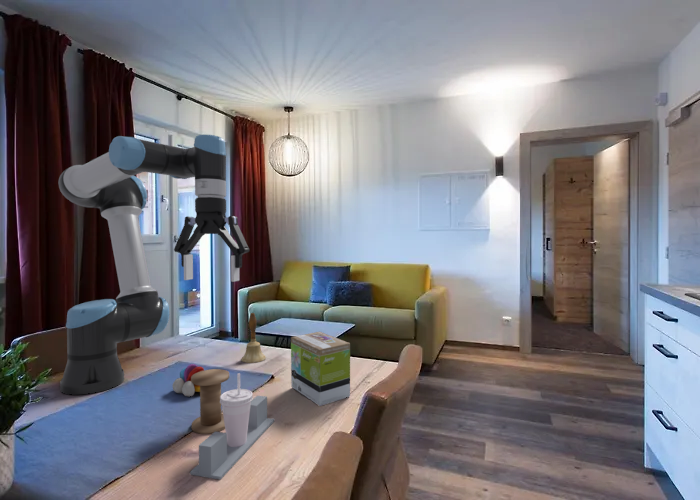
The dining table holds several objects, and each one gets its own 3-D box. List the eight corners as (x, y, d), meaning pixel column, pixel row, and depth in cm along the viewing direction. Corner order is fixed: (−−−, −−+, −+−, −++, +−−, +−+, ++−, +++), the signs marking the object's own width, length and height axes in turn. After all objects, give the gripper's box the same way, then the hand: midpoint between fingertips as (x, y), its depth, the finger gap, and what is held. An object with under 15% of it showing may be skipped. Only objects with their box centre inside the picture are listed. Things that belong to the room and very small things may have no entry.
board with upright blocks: (190, 474, 69) (189, 444, 68) (250, 418, 90) (250, 394, 90) (220, 479, 67) (220, 448, 67) (274, 421, 89) (274, 397, 88)
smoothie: (244, 452, 75) (243, 380, 74) (213, 448, 76) (213, 378, 76) (258, 435, 81) (257, 369, 81) (230, 432, 82) (229, 367, 82)
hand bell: (244, 364, 128) (244, 316, 127) (238, 357, 135) (238, 312, 134) (269, 360, 132) (269, 313, 131) (261, 354, 139) (261, 309, 139)
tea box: (289, 388, 108) (289, 335, 107) (320, 380, 114) (320, 330, 113) (319, 407, 96) (319, 348, 95) (351, 397, 102) (351, 341, 101)
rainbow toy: (190, 400, 100) (190, 372, 100) (168, 392, 105) (167, 366, 105) (217, 389, 107) (217, 363, 107) (195, 382, 112) (195, 357, 112)
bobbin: (183, 431, 84) (183, 380, 83) (205, 414, 92) (205, 367, 91) (216, 435, 82) (216, 383, 82) (236, 418, 90) (236, 370, 89)
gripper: (158, 197, 99) (159, 280, 100) (247, 194, 93) (248, 283, 94) (178, 199, 106) (179, 277, 107) (262, 198, 100) (262, 280, 101)
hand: (211, 280), depth 100 cm, fingers open, 13 cm apart
